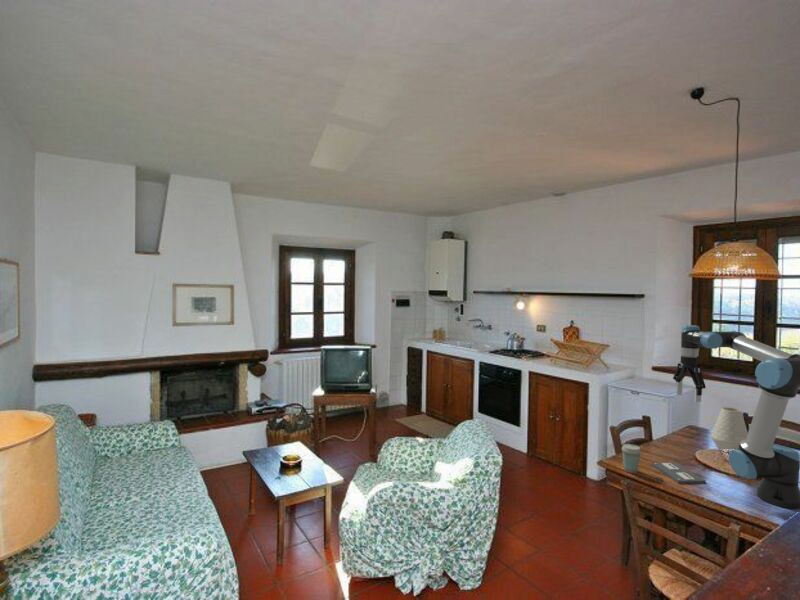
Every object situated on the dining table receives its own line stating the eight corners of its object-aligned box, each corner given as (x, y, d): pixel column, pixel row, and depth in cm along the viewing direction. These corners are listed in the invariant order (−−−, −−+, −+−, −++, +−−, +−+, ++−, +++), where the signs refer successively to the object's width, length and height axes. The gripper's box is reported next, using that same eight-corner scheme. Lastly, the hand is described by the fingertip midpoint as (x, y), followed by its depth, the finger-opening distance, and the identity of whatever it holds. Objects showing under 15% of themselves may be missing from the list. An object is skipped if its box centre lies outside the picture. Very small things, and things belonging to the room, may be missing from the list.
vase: (747, 459, 233) (749, 416, 232) (707, 450, 245) (709, 409, 244) (751, 450, 246) (753, 409, 245) (713, 442, 258) (715, 403, 257)
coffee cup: (643, 475, 213) (643, 450, 212) (623, 473, 215) (624, 449, 214) (637, 467, 221) (638, 444, 221) (618, 466, 223) (619, 442, 223)
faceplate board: (705, 483, 205) (705, 479, 205) (678, 483, 205) (678, 480, 205) (677, 465, 225) (677, 462, 225) (652, 465, 225) (652, 462, 224)
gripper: (715, 360, 210) (713, 404, 211) (680, 352, 235) (678, 391, 236) (700, 360, 210) (698, 404, 211) (666, 352, 235) (665, 391, 236)
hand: (688, 398), depth 223 cm, fingers open, 13 cm apart
